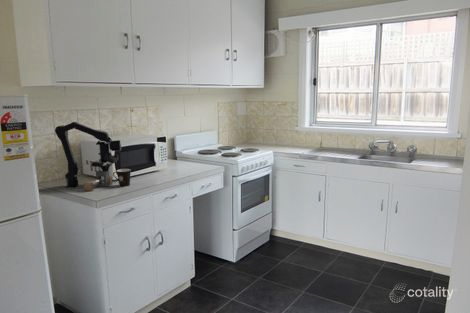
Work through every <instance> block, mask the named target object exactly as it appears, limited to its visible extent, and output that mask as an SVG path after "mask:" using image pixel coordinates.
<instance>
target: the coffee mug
mask: <svg viewBox="0 0 470 313" xmlns="http://www.w3.org/2000/svg"><path fill="white" fill-rule="evenodd" d="M115 173H116V175H117V176H115ZM131 173H132V172H131V168H130V169H129V168H120V169H117V170H116V171H114V172H113V173H112V177H114V178H115V179H116V180H117V181H118V184H119V187H122V188H123V187H125V186H126V187H129V186H130V185H131V175H132V174H131Z"/></svg>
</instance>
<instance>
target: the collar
mask: <svg viewBox="0 0 470 313" xmlns="http://www.w3.org/2000/svg"><path fill="white" fill-rule="evenodd" d="M109 176H110V171H109V170H108V171H103V170H96V171H95V180H97V179H101V178H104V182H105V183H104V182H101V183H98V184H96V186H97V187H98V186H99V187H109V186H111V185H110V180H109Z"/></svg>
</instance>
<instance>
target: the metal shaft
mask: <svg viewBox="0 0 470 313" xmlns="http://www.w3.org/2000/svg"><path fill="white" fill-rule="evenodd" d="M109 180H110V186H111V185H113V175H112V176H110V175H109ZM101 182H102V183H105V182H104V177H101V179H97V180H96V179H94V180H91V181H84V183H83V185H84V187H83V188H84V191H85V190H86V191H85V192H93V191H94V186H95V185H97V184H98V183H101Z"/></svg>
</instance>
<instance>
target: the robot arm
mask: <svg viewBox="0 0 470 313" xmlns="http://www.w3.org/2000/svg"><path fill="white" fill-rule="evenodd" d="M73 129H75V130H77V131H80V132H83V133H85V134H87V135H91V136H92V137H94V138H95V139H97V140H98V141H97V142H96V143H95V145H96V146H97V145H98V146H99V152H98V153H97V154H98V155H99V158H100V159H98V160H95V161H91V167H94V168H95V167H97V168H101V171H109V170H110V167H111V166H112V165H113V164H115V163H116V164H117V163H118V162H119V159H120V158H119V155H118V154H114V155H112V153H111V152H120V151H122V144H121V140H119V139H117V140H112V138H111V137H110V136H109V133H108V132H107V131H104V130H99V129H94V128H91V127H89V126H87V125H84V124H81V123H79V122H78V121H73V122H71V123H68V124H66V125H63V124H61V125H58V126H56V127H55V129H54V132H55V134H56V136H57V138H58V140H59V141H60V142H61V145H62V148H63V151H64V154H65V158H66V160H67V173H65V175H64V177H65V179H66V180H65V181H66V185H65V186H64V188H70V187H73V188H76V187H79V185H80V184H79V179H78V174H79V173H80V172H81V168H82V166H81V165H80V161H76V159H75V156H74V152H73V150H72V146H71V144H70V141H69V131H71V130H73ZM110 151H111V152H110Z"/></svg>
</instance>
